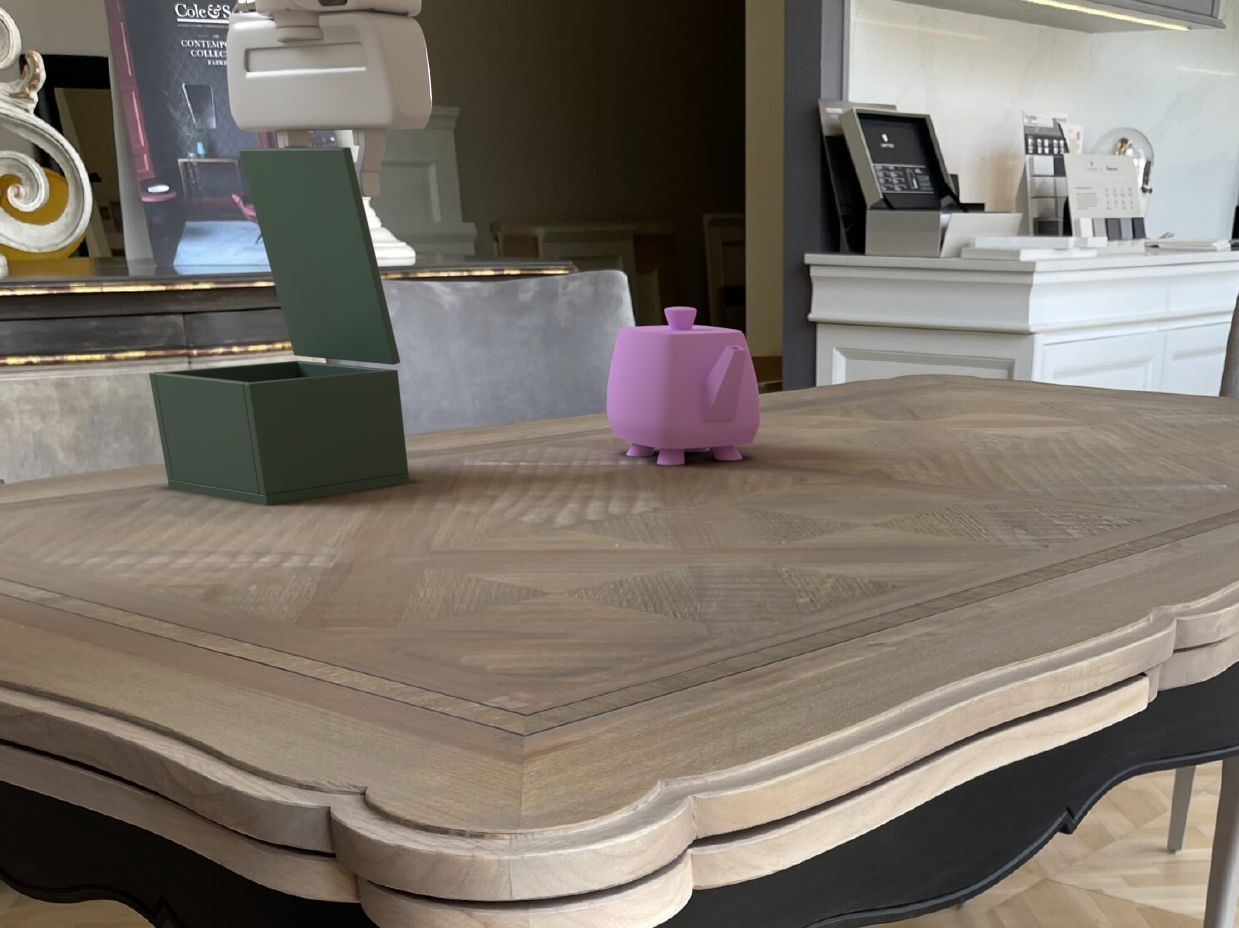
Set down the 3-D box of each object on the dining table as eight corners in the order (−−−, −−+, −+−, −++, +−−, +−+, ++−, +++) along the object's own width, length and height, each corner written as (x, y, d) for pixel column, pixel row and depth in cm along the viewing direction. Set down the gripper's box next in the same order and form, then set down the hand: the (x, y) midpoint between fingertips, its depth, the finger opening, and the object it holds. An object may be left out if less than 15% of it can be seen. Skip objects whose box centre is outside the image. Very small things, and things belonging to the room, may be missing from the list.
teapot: (578, 448, 151) (570, 302, 145) (691, 440, 157) (688, 299, 151) (678, 477, 136) (674, 316, 130) (798, 467, 142) (800, 312, 136)
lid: (343, 148, 118) (395, 136, 121) (237, 150, 124) (290, 138, 128) (393, 365, 127) (441, 348, 131) (293, 355, 134) (341, 340, 137)
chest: (267, 506, 122) (249, 383, 117) (169, 489, 128) (148, 372, 124) (410, 483, 132) (398, 369, 128) (312, 468, 138) (298, 360, 134)
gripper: (193, -7, 122) (224, 195, 129) (370, -24, 112) (392, 198, 118) (260, 0, 127) (286, 196, 133) (435, -15, 116) (454, 198, 123)
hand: (337, 197), depth 126 cm, fingers closed on lid, 5 cm apart
